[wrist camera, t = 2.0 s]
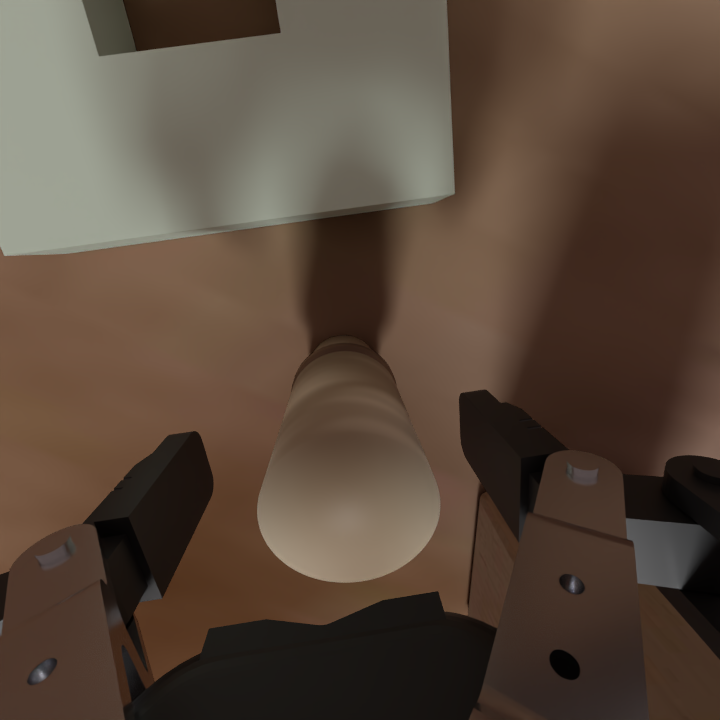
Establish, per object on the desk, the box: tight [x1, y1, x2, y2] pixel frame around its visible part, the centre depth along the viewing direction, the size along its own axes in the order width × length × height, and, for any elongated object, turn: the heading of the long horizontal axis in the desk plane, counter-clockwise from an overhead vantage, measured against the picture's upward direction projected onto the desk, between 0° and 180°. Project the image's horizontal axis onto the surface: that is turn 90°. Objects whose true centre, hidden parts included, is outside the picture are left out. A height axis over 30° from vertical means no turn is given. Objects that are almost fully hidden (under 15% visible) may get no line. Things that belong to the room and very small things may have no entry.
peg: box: [257, 335, 440, 582], centre depth 13 cm, size 4×4×10 cm
